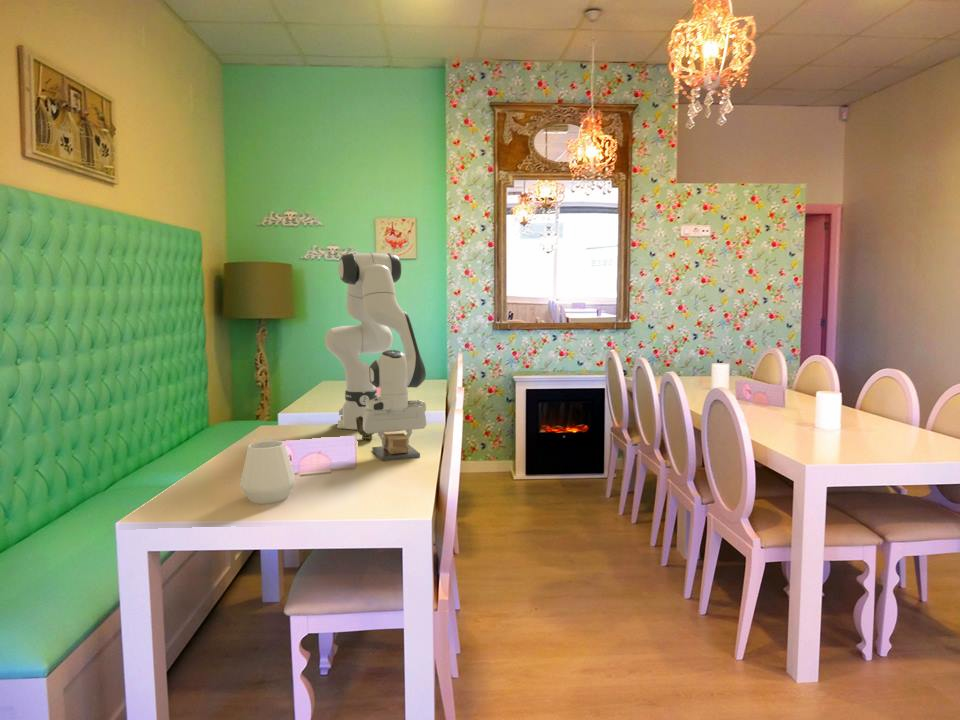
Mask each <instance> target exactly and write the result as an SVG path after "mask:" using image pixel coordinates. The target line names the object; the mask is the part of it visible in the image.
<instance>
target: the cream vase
mask: <svg viewBox="0 0 960 720" xmlns="http://www.w3.org/2000/svg"><path fill="white" fill-rule="evenodd" d="M295 483H296V476H295V473H294V469H293V466H292V463H291V460H290V457H289V453H288V450H287V447H286V444H285V442H283V441H281V440H273V439H272V440H271V439H270V440H261V441H255V442H252V443H250V444H248V446H247V450H246V455H245V459H244V464H243V468H242V473H241V478H240V482H239V487H240V489H241V490H242V492H243V494H244V495H245V497H247V499H248V500H249V501H250V502H251V503H254V504H259V505H260V504H261V505H262V504H263V505H265V504H266V505H267V504H273V503H277V502H281V501H284V500H286V499H287V498H288V496H289V495H290V494H291V491H292V489H293V488H294V486H295Z"/></svg>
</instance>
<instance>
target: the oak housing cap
mask: <svg viewBox="0 0 960 720" xmlns="http://www.w3.org/2000/svg"><path fill="white" fill-rule="evenodd" d="M406 435H407V434H405V433H403V432H402V431H392V432H384V436H383V438H384V439H386V440H388V443H387V444H388V446H383V447H384V448H385V449H386V450H387V451H388V452H389V453H390V454H398V453H407V452H408V437H407V436H406Z"/></svg>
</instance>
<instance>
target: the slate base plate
mask: <svg viewBox="0 0 960 720" xmlns="http://www.w3.org/2000/svg"><path fill="white" fill-rule="evenodd" d="M371 451H372V452H373V453H374V455H376V456H377V458H379V459H380V460H381V461H382V462H387V461H388V462H389V461H396V460H405V459H406V460H407V459H414V458H421V453H420V452H419V451H418V450H417V449H415V448H414V447H412V446H411V445H410V444H408V452H407V453H398V454H390V453H389V452H388V451H387V450H386V449H385V448H384V447H383V446H381V445H380V446H373V447H372V448H371Z"/></svg>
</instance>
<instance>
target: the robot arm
mask: <svg viewBox="0 0 960 720" xmlns="http://www.w3.org/2000/svg"><path fill="white" fill-rule="evenodd" d="M337 267H338V268H337V272H338V275H339V277H340V280H341V282H343V283H345V284H347V295H346V311H347V314H348V315H349V316H350V317H351V318H353V319H355V320H357V321H359V322H361V324H359V325H340V326H336V327H332V328H331V327H330V328H329V330H327V332H326V334H325V337H324V344H325V347H326V350H328V352H329V353H330V354H332V355H333V356H335V357H336V359H338V360H339V362H340V363H341V365H342V367H343V371H344V376H345V386H346V388H345V393H344V399H345V401H344V403H343V406H342V408H339V409H338V416H340V418H338V419H337V426H336V428H337V429H344V430H345V429H346V430H358V429H357V423H356V419H357V417H359V416H361V417H363V430H364V432H365V433H367V434H370V433H374V434H377V435H378V437H379V439H380V440H381V445H382V446H388V444H387V443H388V440H386V439H384V438H383V436H384V432H392V431H401V432H402V431H406V434H405V435H406V436H407V437H408V444H409V443H410V440H409V439H410V437H411V436H412V434H413V430H423V429H425V428H426V426H427V417H426V411H427V407H426V406H427V405H426V402H425V401H422V400H421V399H418V400H409V389H408V388H416V389H417V388H418V387H419V386H420V385H422V383H423V382H424V381H425V380H426V376H427V373H426V368H425V364H424V361H423V359H422V357H421V354H420V353H421V352H420V351H419V350H420V349H419V346H418V344H417V343H418V342H417V340H416V336H415V332H414V329H413V325H412V323H411V320H410V317H409V314H408V312H406V311H405V310H403V309H402V307H400V305H399V303H398V301H397V295H396V287H395V283H397V282H398V281H399V280H401V279H400V278H401V276H402V269H403V267H402V262H401V259H400V258H399V257H398V255H397V254H393V253H389V252H388V253H383V252H382V253H381V252H364V253H362V252H361V253H346V254H343V255H342V256H341V257H340V259H339V262H338V266H337ZM391 330H394V331H395V332H396V333H397V334H399V336H400V340H401V342H402V346H403V351H404V352H403V351H400V350H396V349H392V350H390V349H391V348H392V345H393V342H394V336H393V332H392V331H391ZM379 353H381V354H380V358H379V359H375V360H374V361H373V362H371V364H368V363H366V362H364V361H361V359H360V355H368V354H379ZM376 388H378V389H380V392H379V396H378V391H377V389H376ZM409 445H410V444H409Z"/></svg>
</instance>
